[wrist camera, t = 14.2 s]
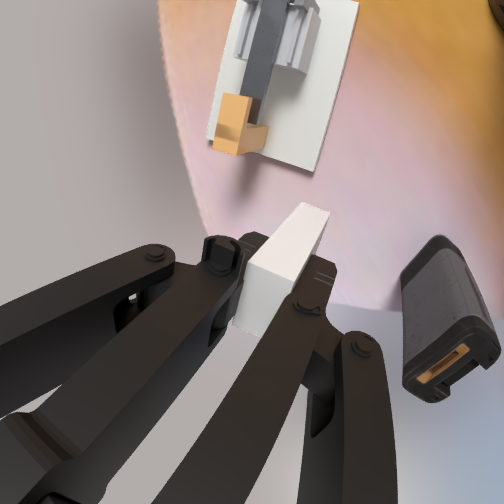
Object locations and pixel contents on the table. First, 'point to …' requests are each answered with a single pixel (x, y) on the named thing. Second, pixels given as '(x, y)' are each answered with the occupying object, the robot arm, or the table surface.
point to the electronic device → (443, 322)
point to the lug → (237, 127)
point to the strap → (263, 55)
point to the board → (292, 74)
